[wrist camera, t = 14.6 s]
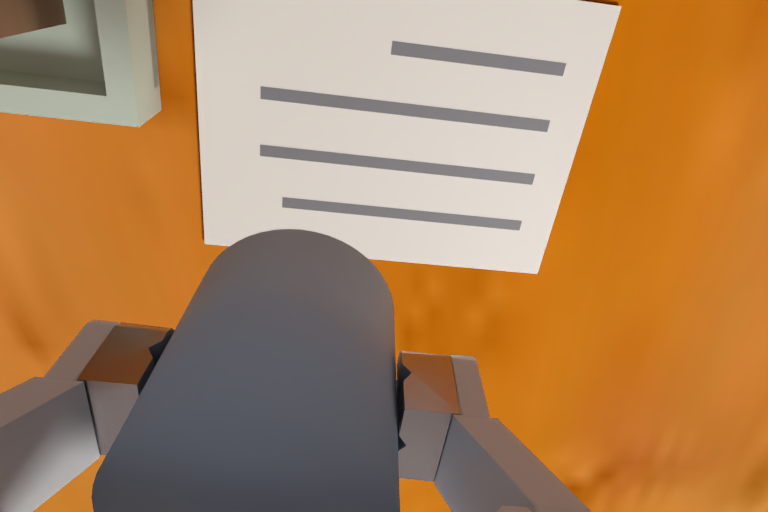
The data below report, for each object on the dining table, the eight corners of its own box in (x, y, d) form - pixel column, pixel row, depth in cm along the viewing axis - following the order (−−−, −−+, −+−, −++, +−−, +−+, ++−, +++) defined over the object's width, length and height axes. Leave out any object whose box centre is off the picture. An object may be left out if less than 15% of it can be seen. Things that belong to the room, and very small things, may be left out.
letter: (619, 5, 20) (621, 6, 20) (536, 272, 26) (537, 273, 26) (191, -55, 19) (189, -55, 18) (205, 242, 24) (204, 244, 24)
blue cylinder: (406, 240, 11) (421, 429, 7) (382, 393, 13) (380, 608, 9) (193, 217, 11) (65, 399, 6) (204, 377, 13) (114, 592, 9)
